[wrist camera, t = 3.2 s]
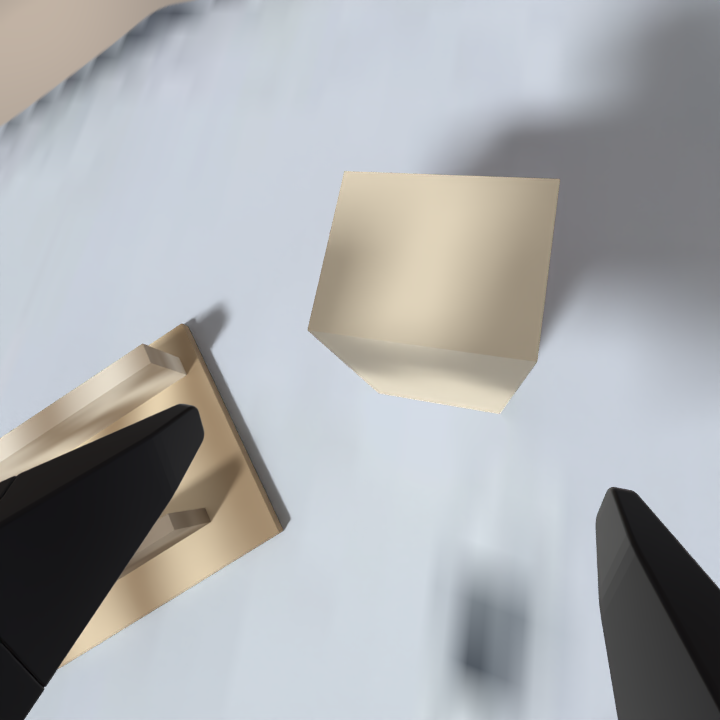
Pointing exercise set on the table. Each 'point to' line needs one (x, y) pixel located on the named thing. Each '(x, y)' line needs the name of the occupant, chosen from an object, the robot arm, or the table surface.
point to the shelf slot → (192, 498)
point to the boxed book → (437, 283)
